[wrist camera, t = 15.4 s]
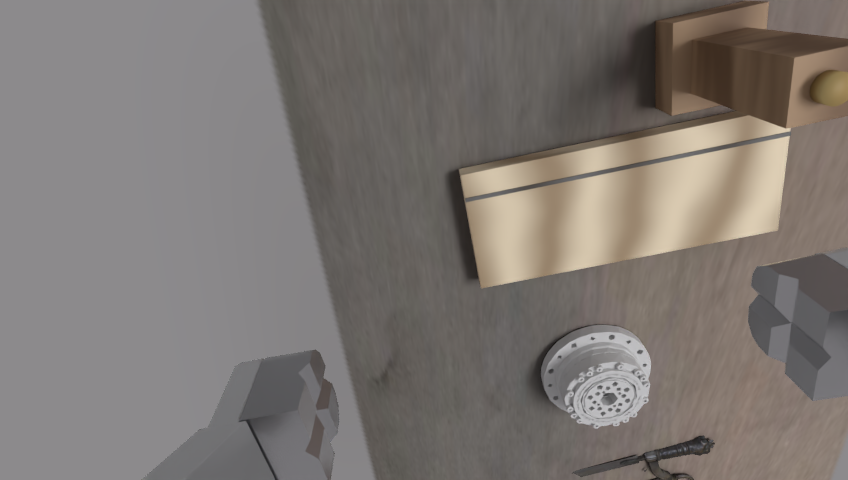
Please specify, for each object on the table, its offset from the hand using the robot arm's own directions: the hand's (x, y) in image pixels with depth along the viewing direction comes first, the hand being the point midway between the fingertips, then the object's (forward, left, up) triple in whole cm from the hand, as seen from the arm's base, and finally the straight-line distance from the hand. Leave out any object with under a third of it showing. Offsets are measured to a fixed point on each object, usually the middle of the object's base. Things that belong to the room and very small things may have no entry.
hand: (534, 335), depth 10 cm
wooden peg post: (-10, +15, -29) cm, 35 cm away
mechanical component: (+16, +26, -30) cm, 42 cm away
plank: (+1, +17, -29) cm, 34 cm away
